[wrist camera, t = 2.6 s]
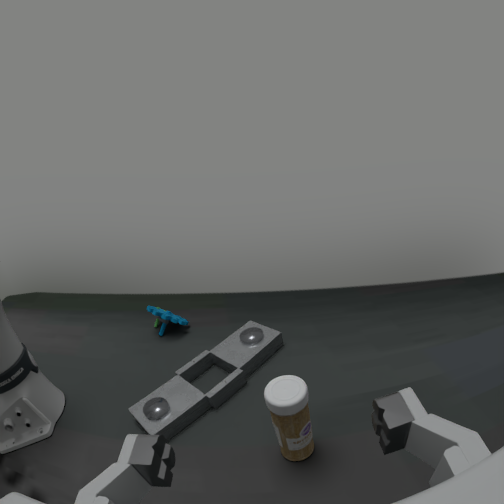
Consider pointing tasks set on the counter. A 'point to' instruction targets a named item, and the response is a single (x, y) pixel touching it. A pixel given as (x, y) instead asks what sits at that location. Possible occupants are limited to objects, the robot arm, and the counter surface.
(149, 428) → the grey long flat block
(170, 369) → the counter surface
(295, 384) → the sprinkles bottle
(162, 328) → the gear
